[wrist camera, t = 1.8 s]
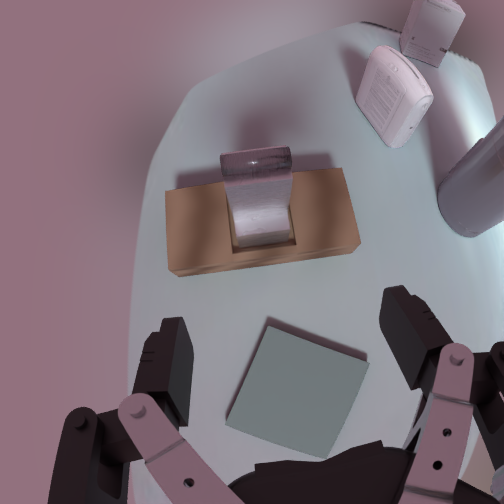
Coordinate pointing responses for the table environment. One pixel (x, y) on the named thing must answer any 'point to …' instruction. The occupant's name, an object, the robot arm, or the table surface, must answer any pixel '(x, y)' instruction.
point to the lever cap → (259, 193)
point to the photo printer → (393, 95)
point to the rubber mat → (297, 393)
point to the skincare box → (430, 29)
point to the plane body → (233, 257)
